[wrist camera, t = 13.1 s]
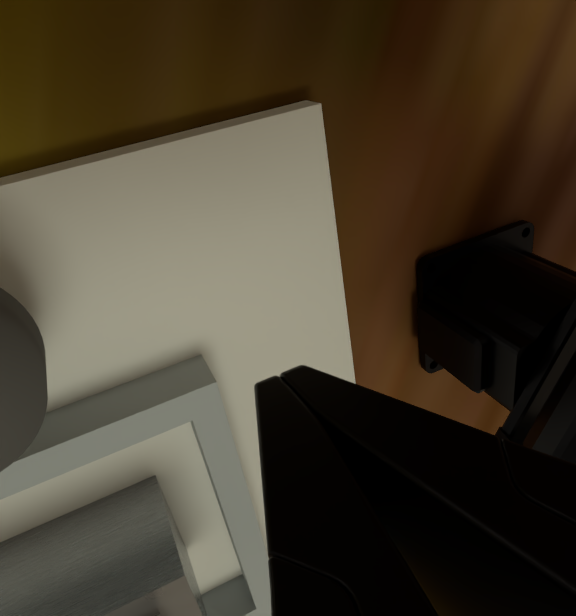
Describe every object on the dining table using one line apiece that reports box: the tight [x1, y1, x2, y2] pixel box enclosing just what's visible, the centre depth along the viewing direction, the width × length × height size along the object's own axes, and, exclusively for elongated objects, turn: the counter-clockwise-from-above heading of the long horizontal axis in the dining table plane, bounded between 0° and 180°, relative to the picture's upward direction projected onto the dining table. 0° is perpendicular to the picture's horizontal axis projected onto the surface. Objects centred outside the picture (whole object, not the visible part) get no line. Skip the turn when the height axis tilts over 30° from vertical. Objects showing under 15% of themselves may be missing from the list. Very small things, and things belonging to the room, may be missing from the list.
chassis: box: [0, 100, 356, 616], centre depth 20 cm, size 27×22×3 cm
